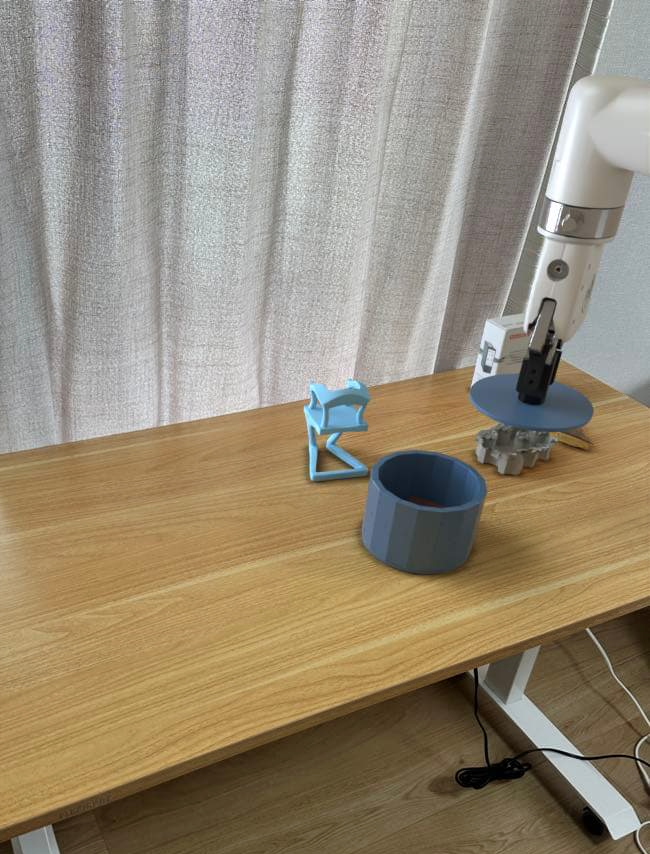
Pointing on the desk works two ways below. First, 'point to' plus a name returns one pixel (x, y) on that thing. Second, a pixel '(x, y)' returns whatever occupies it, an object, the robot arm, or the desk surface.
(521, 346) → the ink box
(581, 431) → the shard
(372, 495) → the tin
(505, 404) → the tin lid
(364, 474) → the chair
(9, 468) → the desk surface
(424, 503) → the block
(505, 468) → the egg carton
